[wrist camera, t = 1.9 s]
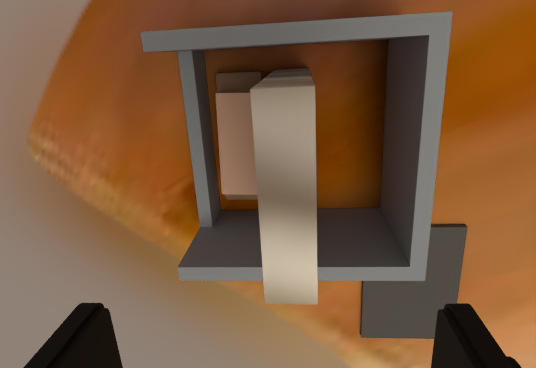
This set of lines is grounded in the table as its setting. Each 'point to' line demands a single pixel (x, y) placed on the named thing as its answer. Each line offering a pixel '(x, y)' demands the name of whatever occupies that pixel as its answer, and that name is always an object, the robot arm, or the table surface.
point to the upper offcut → (236, 142)
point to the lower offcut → (238, 82)
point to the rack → (393, 163)
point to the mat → (416, 291)
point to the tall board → (286, 184)
